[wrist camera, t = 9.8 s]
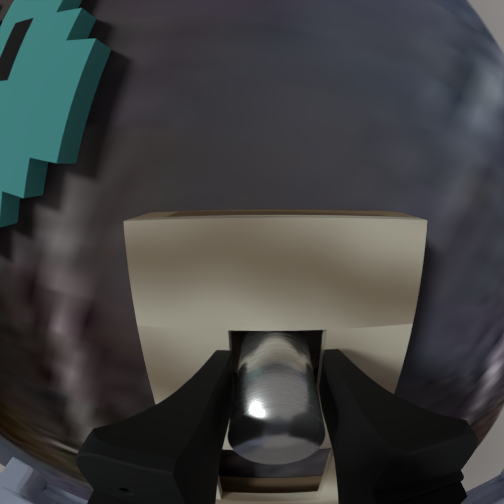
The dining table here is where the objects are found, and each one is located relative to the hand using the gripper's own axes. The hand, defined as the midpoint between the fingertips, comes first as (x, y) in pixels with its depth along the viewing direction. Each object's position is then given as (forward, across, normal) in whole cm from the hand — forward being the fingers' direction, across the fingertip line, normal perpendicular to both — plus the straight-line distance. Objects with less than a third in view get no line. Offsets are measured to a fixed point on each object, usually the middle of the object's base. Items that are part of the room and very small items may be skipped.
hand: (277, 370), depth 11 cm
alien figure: (+4, +19, -15) cm, 25 cm away
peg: (+4, 0, 0) cm, 4 cm away
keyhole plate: (+4, 0, +5) cm, 6 cm away
